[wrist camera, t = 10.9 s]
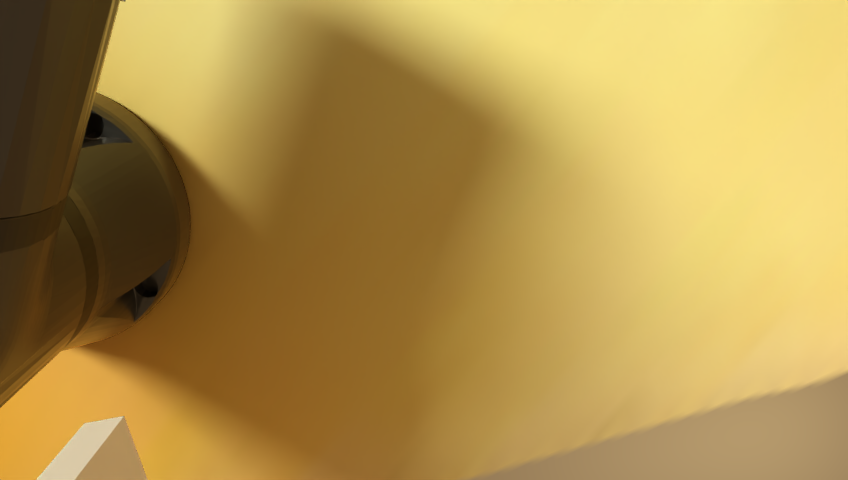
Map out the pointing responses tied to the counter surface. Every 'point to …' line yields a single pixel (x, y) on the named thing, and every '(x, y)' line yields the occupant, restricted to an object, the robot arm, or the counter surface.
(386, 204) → the counter surface
